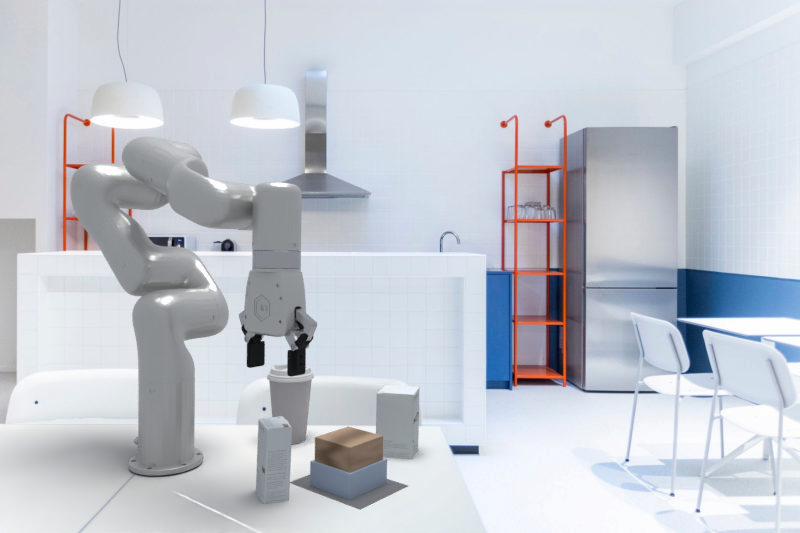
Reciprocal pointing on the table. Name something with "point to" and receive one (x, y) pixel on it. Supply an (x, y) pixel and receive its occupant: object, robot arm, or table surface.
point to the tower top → (348, 449)
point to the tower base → (348, 478)
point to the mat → (360, 500)
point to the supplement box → (398, 420)
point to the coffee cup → (291, 398)
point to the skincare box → (273, 459)
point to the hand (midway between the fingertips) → (275, 370)
